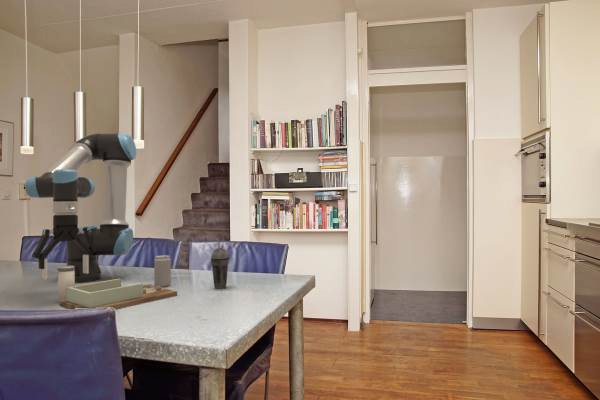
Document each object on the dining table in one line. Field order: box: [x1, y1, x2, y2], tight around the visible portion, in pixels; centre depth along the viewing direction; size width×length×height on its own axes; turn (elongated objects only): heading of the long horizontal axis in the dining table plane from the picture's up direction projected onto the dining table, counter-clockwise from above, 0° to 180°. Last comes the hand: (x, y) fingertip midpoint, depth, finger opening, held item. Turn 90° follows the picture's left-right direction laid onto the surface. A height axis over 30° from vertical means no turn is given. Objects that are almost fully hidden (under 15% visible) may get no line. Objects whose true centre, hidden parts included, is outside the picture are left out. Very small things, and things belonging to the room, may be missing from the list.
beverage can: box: [153, 254, 172, 288], centre depth 172 cm, size 6×6×12 cm
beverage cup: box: [210, 237, 230, 290], centre depth 168 cm, size 7×7×20 cm
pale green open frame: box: [67, 278, 144, 308], centre depth 144 cm, size 15×19×4 cm
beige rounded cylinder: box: [57, 265, 76, 304], centre depth 148 cm, size 5×5×12 cm
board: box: [59, 283, 178, 310], centre depth 149 cm, size 20×32×3 cm, turn 142°
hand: (65, 275), depth 147 cm, fingers open, 13 cm apart
